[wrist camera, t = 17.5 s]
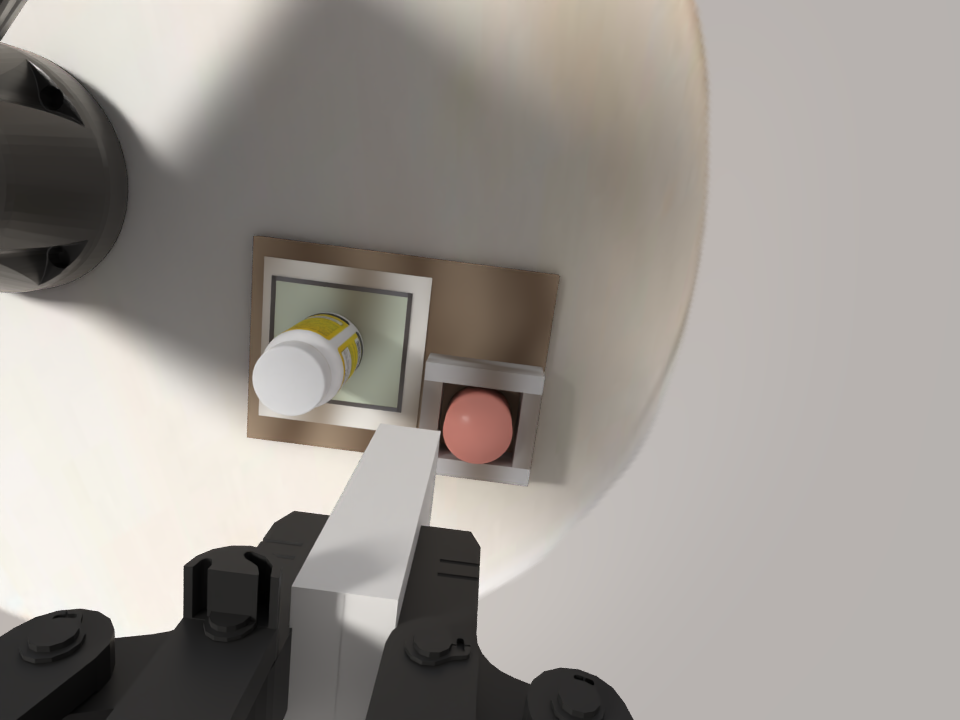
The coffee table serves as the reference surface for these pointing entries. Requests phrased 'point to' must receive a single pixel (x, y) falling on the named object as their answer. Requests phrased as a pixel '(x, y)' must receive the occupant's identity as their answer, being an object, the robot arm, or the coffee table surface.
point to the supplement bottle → (307, 364)
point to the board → (407, 344)
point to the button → (478, 425)
